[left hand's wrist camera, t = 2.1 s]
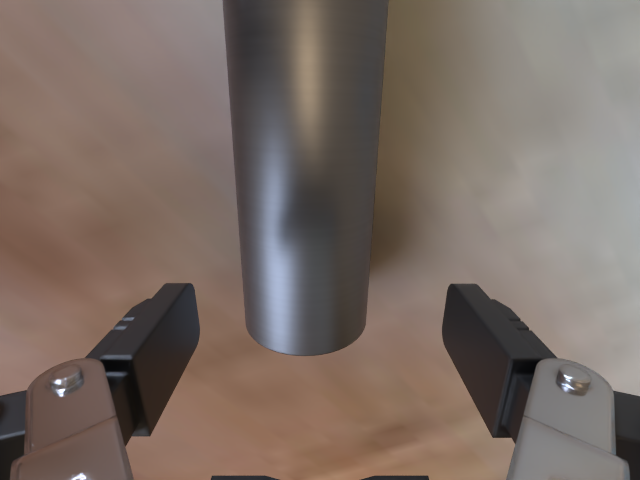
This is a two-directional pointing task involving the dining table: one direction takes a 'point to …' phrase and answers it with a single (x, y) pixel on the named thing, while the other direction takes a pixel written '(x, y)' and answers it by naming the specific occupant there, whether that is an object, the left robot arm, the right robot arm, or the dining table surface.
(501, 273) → the dining table surface
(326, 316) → the rod
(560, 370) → the left robot arm
